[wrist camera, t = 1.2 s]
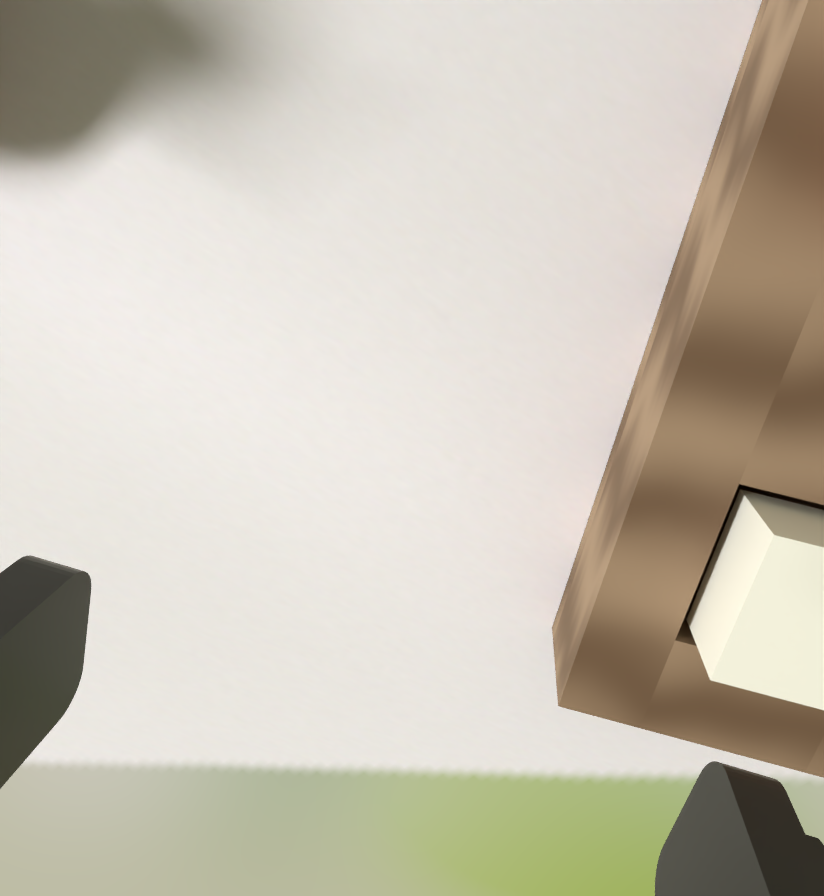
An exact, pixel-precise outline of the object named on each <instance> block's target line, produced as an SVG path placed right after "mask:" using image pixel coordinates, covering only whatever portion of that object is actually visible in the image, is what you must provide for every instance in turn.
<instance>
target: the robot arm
mask: <svg viewBox="0 0 824 896" xmlns="http://www.w3.org/2000/svg"><path fill="white" fill-rule="evenodd" d="M90 595H91V579H90V576H89V575H88V573H86V572H84V571H81V570H78V569H74V568H71V567H68V566H64V565H61V564H57V563H54V562H51V561H47V560H44V559H41V558H37V557H34V556H25V557H22V558H20V559H19V560H17V561H16V562H15V563H13V564H12V565H11V566H9V567H8V568H7V569H5V570H4V571H2V572H1V573H0V788H1V787H2V786H3V785H4V784H5V782H6V781H7V780H8V779H9V778H10V777H11V776H12V774H13V773H14V772H15V771H16V770H17V769H18V768H19V766H20V765H21V764H22V763H23V762H24V761H25V759H26V758H27V757H28V756H29V755H30V754H31V752H32V751H33V750H34V749H35V748H36V747H37V745H38V744H39V743H40V742H41V741H42V740H43V739H44V737H45V736H46V735H47V734H48V733H49V732H50V730H51V729H52V728H53V727H54V726H55V725H56V723H57V722H58V721H59V720H60V719H61V717H62V716H63V715H64V713H65V712H66V710H67V708H68V707H69V705H70V703H71V701H72V699H73V697H74V695H75V693H76V691H77V688H78V685H79V682H80V679H81V675H82V671H83V663H84V653H85V643H86V634H87V624H88V614H89V605H90ZM655 896H824V845H823V844H822V842H821V841H820V840H819V839H818V838H815V837H812V836H809V835H805V833H804V831H803V828H802V826H801V824H800V822H799V819H798V817H797V815H796V813H795V811H794V808H793V806H792V804H791V801H790V799H789V797H788V795H787V792H786V790H785V789H784V787H783V786H782V784H781V783H780V782H779V781H777V780H776V779H773V778H770V777H766V776H763V775H759V774H756V773H753V772H749V771H746V770H743V769H739V768H736V767H733V766H729V765H726V764H723V763H719V762H710V763H709V764H707V765H706V766H705V767H704V769H703V770H702V772H701V773H700V775H699V777H698V779H697V781H696V783H695V785H694V787H693V789H692V791H691V793H690V795H689V797H688V799H687V801H686V803H685V805H684V807H683V808H682V810H681V813H680V814H679V817H678V818H677V820H676V822H675V824H674V826H673V828H672V830H671V832H670V834H669V836H668V838H667V840H666V842H665V844H664V846H663V848H662V850H661V853H660V856H659V860H658V864H657V870H656V878H655Z"/></svg>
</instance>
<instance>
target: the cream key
mask: <svg viewBox="0 0 824 896" xmlns="http://www.w3.org/2000/svg"><path fill="white" fill-rule="evenodd" d="M686 620H687V622H688V625H689V627H690V630H691V633H692V635H693V638H694V640H695V643H696V645H697V648H698V650H699V653H700V655H701V658H702V661H703V663H704V666H705V668H706V671H707V673H708V676H709V678H710V680H711V681H715V682H719V683H722V684H726V685H730V686H734V687H738V688H741V689H745V690H749V691H753V692H757V693H760V694H764V695H768V696H772V697H775V698H779V699H783V700H787V701H791V702H794V703H798V704H802V705H806V706H810V707H813V708H817V709H821V710H824V510H822V509H818V508H814V507H810V506H806V505H801V504H797V503H793V502H789V501H785V500H781V499H777V498H773V497H769V496H765V495H761V494H757V493H753V492H749V491H745V490H741V489H740V490H739V493H738V495H737V498H736V500H735V502H734V505H733V507H732V510H731V512H730V515H729V517H728V520H727V522H726V524H725V527H724V529H723V532H722V534H721V537H720V539H719V541H718V544H717V546H716V549H715V551H714V554H713V556H712V559H711V561H710V563H709V566H708V568H707V571H706V573H705V576H704V578H703V580H702V583H701V585H700V588H699V590H698V593H697V595H696V598H695V600H694V602H693V605H692V607H691V610H690V612H689V615H688V617H687V619H686Z"/></svg>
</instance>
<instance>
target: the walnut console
mask: <svg viewBox="0 0 824 896" xmlns="http://www.w3.org/2000/svg"><path fill="white" fill-rule="evenodd" d="M740 489H741V490H745V491H749V492H753V493H757V494H761V495H765V496H769V497H773V498H777V499H781V500H785V501H789V502H793V503H797V504H801V505H806V506H810V507H814V508H818V509H822V510H824V0H762V3H761V6H760V9H759V12H758V15H757V18H756V21H755V24H754V27H753V30H752V33H751V36H750V39H749V42H748V45H747V48H746V51H745V53H744V56H743V59H742V62H741V65H740V68H739V71H738V74H737V77H736V80H735V83H734V86H733V89H732V92H731V95H730V98H729V101H728V104H727V107H726V110H725V113H724V116H723V119H722V122H721V125H720V128H719V131H718V134H717V137H716V140H715V143H714V146H713V149H712V152H711V155H710V158H709V161H708V164H707V167H706V170H705V173H704V176H703V179H702V182H701V185H700V188H699V191H698V194H697V197H696V200H695V203H694V206H693V209H692V212H691V215H690V218H689V221H688V224H687V227H686V230H685V233H684V236H683V239H682V242H681V245H680V248H679V251H678V254H677V257H676V260H675V263H674V265H673V268H672V271H671V274H670V277H669V280H668V283H667V286H666V289H665V292H664V295H663V298H662V301H661V304H660V307H659V310H658V313H657V316H656V319H655V322H654V325H653V328H652V331H651V334H650V337H649V340H648V343H647V346H646V349H645V352H644V355H643V358H642V361H641V364H640V367H639V370H638V373H637V376H636V379H635V382H634V385H633V388H632V391H631V394H630V397H629V400H628V403H627V406H626V409H625V412H624V415H623V418H622V421H621V424H620V427H619V430H618V433H617V436H616V439H615V442H614V445H613V448H612V451H611V454H610V457H609V460H608V463H607V466H606V469H605V472H604V475H603V477H602V480H601V483H600V486H599V489H598V492H597V495H596V498H595V501H594V504H593V507H592V510H591V513H590V516H589V519H588V522H587V525H586V528H585V531H584V534H583V537H582V540H581V543H580V546H579V549H578V552H577V555H576V558H575V561H574V564H573V567H572V570H571V573H570V576H569V579H568V582H567V585H566V588H565V591H564V594H563V597H562V600H561V603H560V606H559V609H558V612H557V615H556V618H555V621H554V624H553V627H552V631H553V644H554V657H555V670H556V683H557V696H558V706H560V707H564V708H567V709H571V710H575V711H579V712H582V713H586V714H590V715H593V716H597V717H601V718H605V719H608V720H612V721H616V722H619V723H623V724H627V725H631V726H634V727H638V728H642V729H645V730H649V731H653V732H657V733H660V734H664V735H668V736H671V737H675V738H679V739H683V740H686V741H690V742H694V743H697V744H701V745H705V746H708V747H712V748H716V749H720V750H723V751H727V752H731V753H734V754H738V755H742V756H746V757H749V758H753V759H757V760H760V761H764V762H768V763H772V764H775V765H779V766H783V767H786V768H790V769H794V770H798V771H801V772H805V773H809V774H812V775H816V776H820V777H824V710H821V709H817V708H813V707H810V706H806V705H802V704H798V703H794V702H791V701H787V700H783V699H779V698H775V697H772V696H768V695H764V694H760V693H757V692H753V691H749V690H745V689H741V688H738V687H734V686H730V685H726V684H722V683H719V682H715V681H711V680H710V678H709V676H708V673H707V671H706V668H705V666H704V663H703V661H702V658H701V655H700V653H699V650H698V648H697V645H696V643H695V640H694V638H693V635H692V633H691V630H690V627H689V625H688V622H687V620H686V619H687V617H688V615H689V612H690V610H691V607H692V605H693V602H694V600H695V598H696V595H697V593H698V590H699V588H700V585H701V583H702V580H703V578H704V576H705V573H706V571H707V568H708V566H709V563H710V561H711V559H712V556H713V554H714V551H715V549H716V546H717V544H718V541H719V539H720V537H721V534H722V532H723V529H724V527H725V524H726V522H727V520H728V517H729V515H730V512H731V510H732V507H733V505H734V502H735V500H736V498H737V495H738V493H739V490H740Z"/></svg>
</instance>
